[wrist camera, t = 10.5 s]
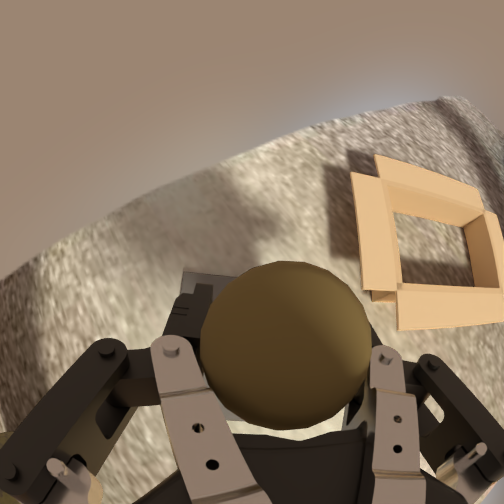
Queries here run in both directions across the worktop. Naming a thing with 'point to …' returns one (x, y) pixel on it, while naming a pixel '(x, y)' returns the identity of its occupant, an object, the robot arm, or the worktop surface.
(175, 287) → the worktop surface
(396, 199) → the carton
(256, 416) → the cork
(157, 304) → the worktop surface
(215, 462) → the robot arm
